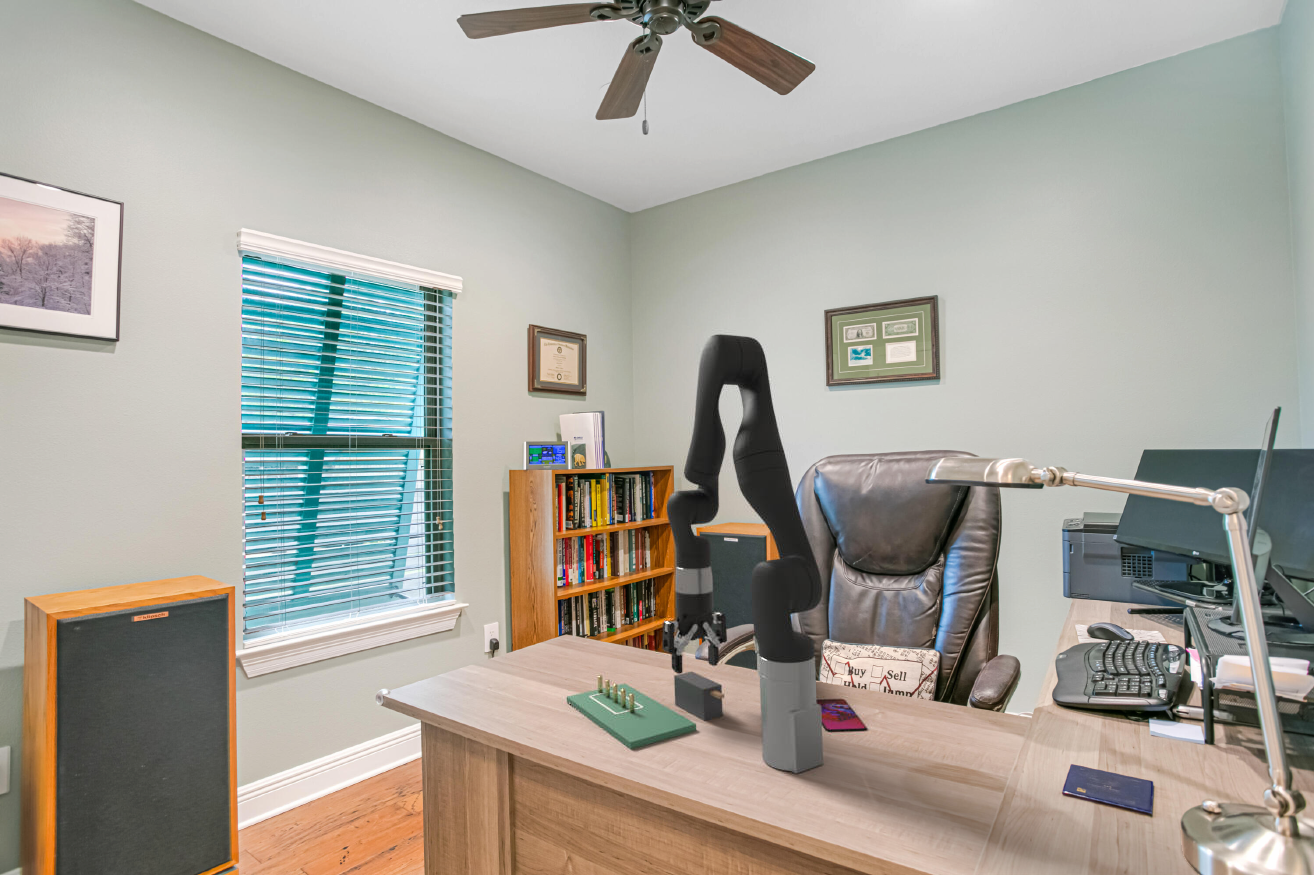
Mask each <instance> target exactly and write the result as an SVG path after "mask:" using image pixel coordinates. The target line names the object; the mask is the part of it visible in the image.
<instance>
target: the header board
mask: <svg viewBox="0 0 1314 875" xmlns="http://www.w3.org/2000/svg"><path fill="white" fill-rule="evenodd" d="M617 685H618V703H613V685H612V686H611V685H610V698H606V697H605V687H603V693H598V689H595V690H590V691H586V692H581V693H576V694H572V695H569V696H568V695H567V696H566V703H567V702H568V703H570V704H571V705H572V706H573V707H572V706H571V705H570V704H569V705H570V706H571V707H572V708H574V707H575V708H576V709H577V710H576V709H575V708H574V709H575V710H576V711H578V710H579V711H580V712H581V713H580V712H579V711H578V712H579V713H580V714H582V715H583V714H584V715H583V716H585V717H586V718H587V719H588V720H590V721H591V720H592V721H591V722H593V723H594V724H596V725H597V726H598V725H599V726H598V727H599V728H601V729H602V728H603V729H602V730H604V731H605V730H606V731H607V733H608V734H609V735H611V736H612V737H613V738H615V739H616V740H618V741H619V742H620V743H621V744H623V745H624V746H626V748H628V749H630V750H633V749H635V748H639V747H642V746H647V745H650V744H653V743H657V742H658V743H659V742H661V741H664V740H666V739H670V738H674V737H678V736H681V735H685V734H689V733H693V732H696V731H697V723H696V722H694V721H692V720H691V719H688V718H687V717H686V716H684V715H681V714H680V713H677V712H676V711H675V710H672V709H671V708H669V707H668V706H665V705H664V704H662V703H660V702H659V701H656V700H655V699H653V698H651V697H649V696H648V695H646V694H645V693H643V692H640V691H639V690H637V689H635V688H633V687H632V686H630V685H628V684H626V683H621V684H617ZM621 689H626V708H621ZM629 694H634V706H635V713H630V709H629ZM568 703H567V704H568ZM606 731H605V732H606Z"/></svg>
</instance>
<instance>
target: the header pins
mask: <svg viewBox="0 0 1314 875" xmlns="http://www.w3.org/2000/svg"><path fill="white" fill-rule="evenodd" d="M604 684H605V685H604V687H603V675H600V674H599V675H597V690H598V693H603V688H605V697H606V698H610V687H611V680H610V679H605V680H604ZM618 685H619V684H618V683H613V684H612V686H613V703H618ZM621 708H626V689H621ZM629 709H630V713H635V706H634V694H629Z"/></svg>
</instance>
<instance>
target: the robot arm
mask: <svg viewBox="0 0 1314 875" xmlns="http://www.w3.org/2000/svg"><path fill="white" fill-rule="evenodd" d="M698 364H699V365H698V374H697V387H696V400H695V411H694V412H695V413H694V423H693V430H692V434H691V435H692V436H691V440H690V445H689V449H688V452H687V456H686V459H685V460H686V461H685V465H684V468H683V470H684V471H683V474H684V475H683V476H684V477H685V479H686V480H687V481H688V482H690V483H692V484H694V485H696V486H697V489H690V490H689V489H688V490H676V491H675V492H673V493H671V494H670V496H669V497H668V499H667V502H666V516H667V519H668V522H669V525H670V528H671V529H670V530H671V533H672V536H673V540H674V544H675V557H676V558H675V559H676V560H675V562H676V564H675V565H676V569H675V570H676V571H675V610H676V614H677V617H676V620H674V621H673V620H672V621H669V620H664V621H662V622H663V623H662V647H661V648H662V651H664V652H666V653H669V654H670V655H671V669H672V670H673V672H674V673H676V674H677V675H679V674H683V654H682V653H683V651H684V649H685V647H687V646H688V645H689V643H690V642H692V641H696V640H697V639H699V640H704V639H705V640H706V642H707V643H708V644H709V645H707V651H708V652H707V653H708V654H707V656H708V660H707V662H708V664H709V665H710V666H712V667H715V666H718V663H719V660H720V657H719V654H720V652H719V650H720V649H719V647H720V645H721V644H722V643H727V641H728V635H727V621H726V620H727V618H726V614H725V613H722V612H719V611H714V613H713V610H714V594H713V593H714V590H713V588H714V587H713V571H712V561H711V560H712V557H711V555H712V553H711V552H712V551H711V549H712V548H711V541H710V539H708V538H707V537H705V536H704V535H703V536H702V535H695V533H694V531H693V529H692V526H693V525H704V524H709V523H711V522H713V521H714V519H715V518H716V517H717V514H718V512H719V508H720V497H719V496H720V495H719V494H720V492H719V481H720V480H719V477H720V472H721V471H722V470H721V469H722V466H723V461H724V459H725V453H726V449H727V448H726V447H727V439H726V433H725V430H724V425H723V422H722V419H721V415H720V409H719V408H720V406H719V404H720V397H721V394H722V390H723V387H724V386H725V385H726V386H728V385H729V386H737V387H738V389H739V394H740V397H741V403H742V409H743V410H742V418H741V422H740V425H739V428H738V431H737V433H736V437H735V439H734V444H733V448H732V461H733V465H734V471H735V474H736V479H737V483H738V487H739V490H740V492H741V494H742V496H743V497H744V499H745V501H746V502H747V503H748V504H749V506H750V507H751V508H752V509H753V511H754V512H755V513H756V514H757V515H758V516H759V518H760V519H761V520H762V521H763V522H764V524H765V525H766V527H767V528H768V530H769V532H770V533H771V536H772V539H773V540H774V544H775V547H776V550H777V553H778V556H779V558H776V559H770V560H769V559H768V560H764V561H761V562H759V563H757V564H756V565H755V567H754V569H753V571H752V573H751V578H750V598H751V600H750V601H751V609H752V620H753V621H752V622H753V631H754V636H755V637H756V641H757V643H758V647H759V669H760V677H759V690H760V694H759V696H760V717H761V718H760V719H761V721H760V722H761V723H760V724H761V725H760V727H761V742H762V743H761V745H762V746H761V747H762V750H761V752H762V759H763V761H764V763H765V764H766V765H768V766H769V767H772V768H773V769H774V768H775V769H778V770H782V771H787V772H791V773H794V774H799V773H802V772H805V771H807V770H811V769H813V768H816V767H819V766H821V765H823V764H824V748H823V747H824V746H823V744H824V743H823V726H822V716H821V706H820V705H819V704H817V703H816V700H817V684H816V682H817V680H816V679H817V678H816V656H815V655H816V653H815V642H814V639H813V638H812V637H811V636H810V635H808V634H806V633H804V632H800V631H796V630H794V627H793V622H792V614H799V613H802V612H808V611H811V610H815V609H816V608H817V607H818V606H819V604H820V602H821V600H822V596H823V583H822V577H821V572H820V568H819V565H818V563H817V560H816V557H815V554H814V552H813V549H812V546H811V543H810V541H809V538H808V534H807V533H806V530H805V526H804V523H803V519H802V517H801V513H800V509H799V506H798V502H797V499H796V494H795V492H794V487H793V484H792V479H791V474H790V469H789V465H788V461H787V458H786V453H785V449H784V446H783V442H782V438H781V436H780V432H779V426H778V423H777V418H776V414H775V409H774V404H773V398H772V393H771V392H772V391H771V384H770V379H769V378H770V377H769V370H768V369H769V368H768V364H767V358H766V355H765V351H764V349H763V347H762V345H761V343H760V342H759V341H758V340H757V339H756V338H753V337H750V336H745V335H744V336H743V335H742V336H741V335H734V334H732V335H731V334H714V335H711V336H710V337H709V338H708V339H707V340H706V341H705V343H704V345H703V348H702V351H701V355H700V358H699V363H698ZM713 624H714V630H713V629H712V628H711V627H712V626H713ZM677 629H678V630H677ZM675 633H676V634H675Z"/></svg>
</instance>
